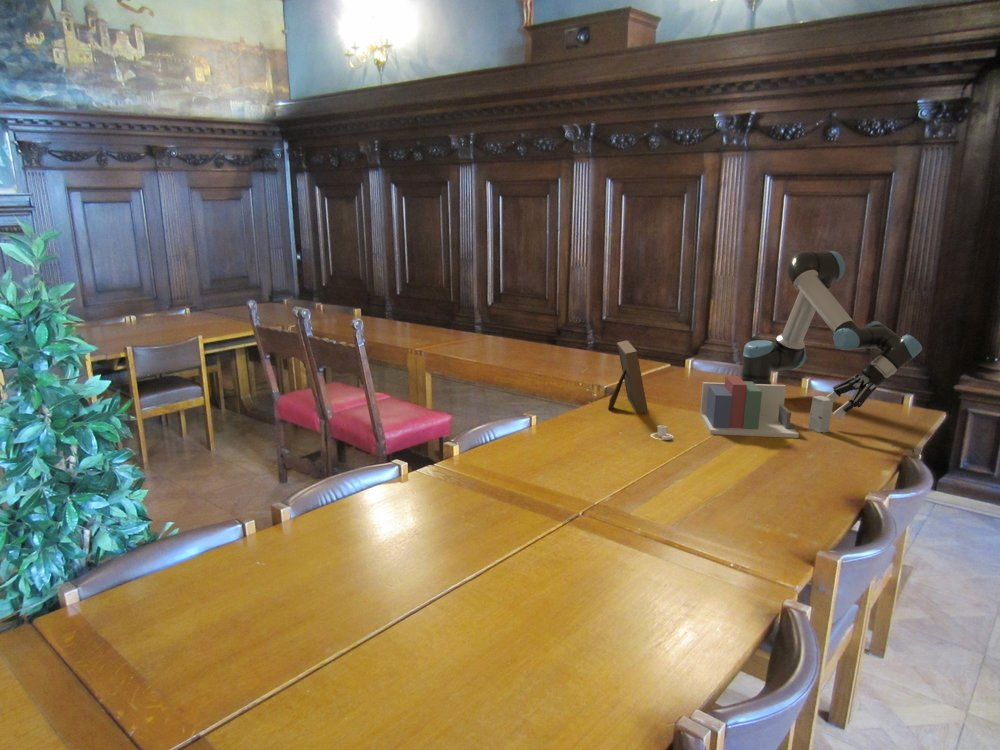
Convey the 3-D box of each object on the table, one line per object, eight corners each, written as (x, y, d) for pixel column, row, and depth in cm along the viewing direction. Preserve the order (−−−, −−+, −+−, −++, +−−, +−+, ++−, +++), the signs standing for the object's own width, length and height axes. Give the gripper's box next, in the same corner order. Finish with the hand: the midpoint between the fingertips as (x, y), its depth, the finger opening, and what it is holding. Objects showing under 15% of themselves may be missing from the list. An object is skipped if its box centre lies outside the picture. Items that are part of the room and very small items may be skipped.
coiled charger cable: (674, 442, 230) (674, 431, 229) (650, 441, 231) (651, 429, 230) (673, 434, 238) (673, 423, 237) (650, 433, 239) (650, 422, 238)
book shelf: (700, 416, 258) (703, 372, 254) (780, 419, 255) (785, 374, 250) (710, 434, 237) (714, 386, 233) (798, 437, 234) (804, 389, 230)
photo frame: (637, 398, 281) (641, 340, 275) (647, 414, 260) (651, 351, 254) (602, 398, 282) (605, 340, 276) (609, 413, 261) (612, 350, 255)
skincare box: (807, 428, 245) (811, 396, 242) (817, 426, 246) (821, 395, 243) (819, 433, 239) (823, 400, 236) (830, 432, 240) (834, 399, 237)
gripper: (901, 387, 223) (848, 429, 228) (870, 370, 247) (822, 408, 252) (887, 371, 222) (834, 413, 227) (856, 356, 246) (809, 394, 251)
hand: (828, 410), depth 239 cm, fingers open, 13 cm apart
